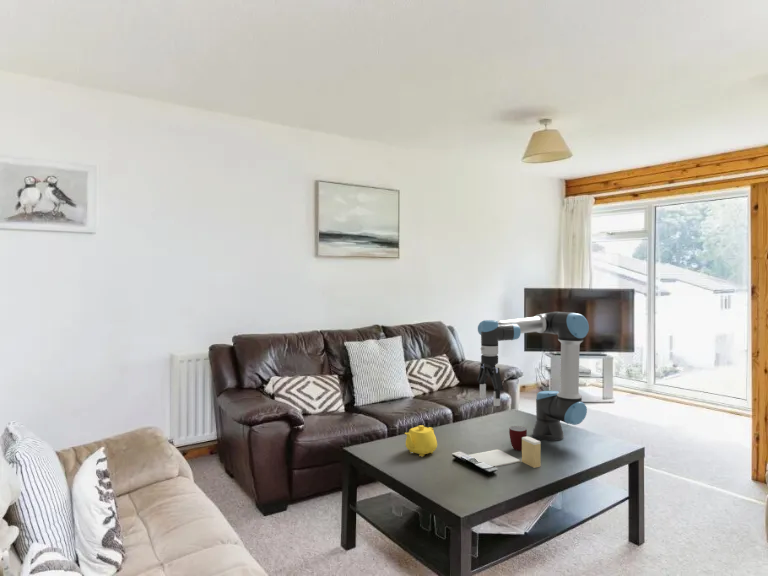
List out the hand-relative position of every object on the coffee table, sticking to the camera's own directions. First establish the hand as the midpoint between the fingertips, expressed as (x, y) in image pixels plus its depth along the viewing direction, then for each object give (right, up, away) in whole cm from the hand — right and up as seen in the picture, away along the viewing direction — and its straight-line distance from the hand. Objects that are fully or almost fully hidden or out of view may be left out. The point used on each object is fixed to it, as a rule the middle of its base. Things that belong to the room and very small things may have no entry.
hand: (489, 401), depth 224 cm
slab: (+17, -27, -4) cm, 32 cm away
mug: (+17, -26, +14) cm, 34 cm away
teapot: (-31, -27, +10) cm, 42 cm away
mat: (+1, -26, +2) cm, 27 cm away
